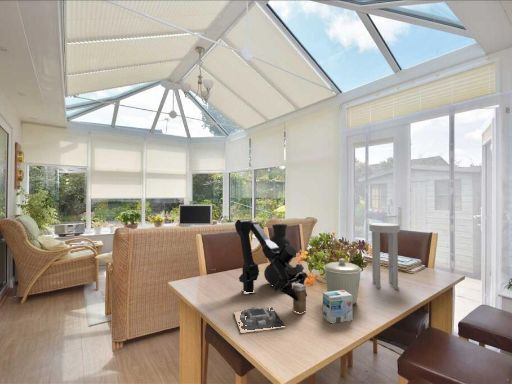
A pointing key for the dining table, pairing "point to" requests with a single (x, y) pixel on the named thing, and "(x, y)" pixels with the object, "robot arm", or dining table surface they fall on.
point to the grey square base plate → (260, 318)
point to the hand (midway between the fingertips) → (302, 298)
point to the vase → (271, 271)
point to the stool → (392, 251)
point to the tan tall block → (299, 298)
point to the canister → (343, 277)
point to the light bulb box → (337, 306)
